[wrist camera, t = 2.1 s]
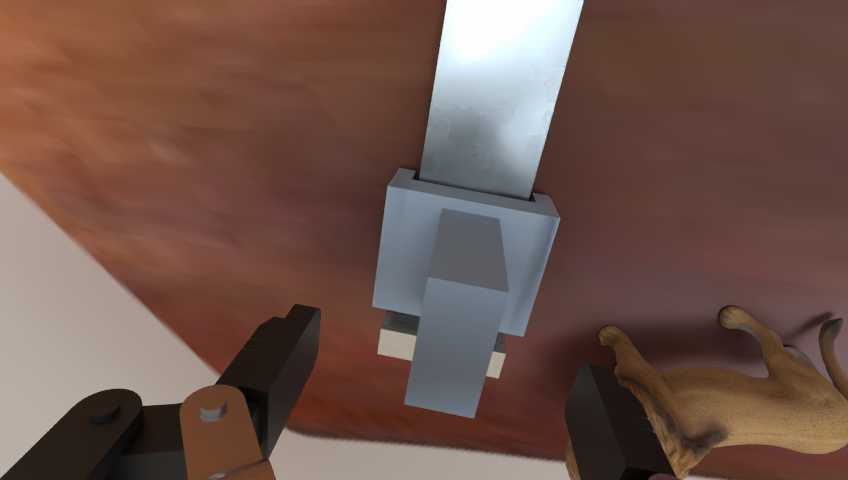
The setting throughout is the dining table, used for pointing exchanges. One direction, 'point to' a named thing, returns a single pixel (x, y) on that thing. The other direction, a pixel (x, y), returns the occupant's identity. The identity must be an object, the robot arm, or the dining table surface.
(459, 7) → the rail station
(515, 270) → the carriage
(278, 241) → the dining table surface
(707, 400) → the lion figurine
